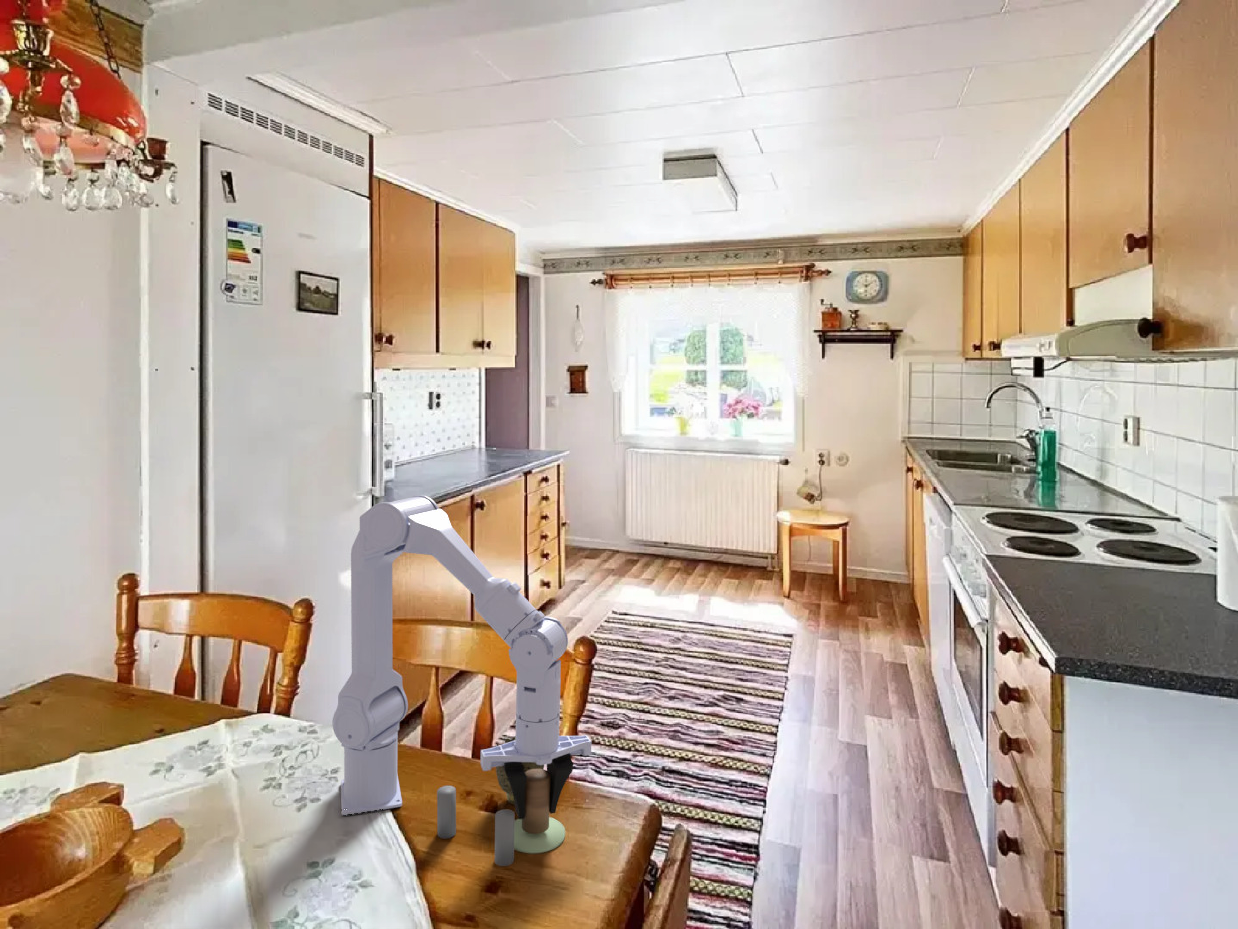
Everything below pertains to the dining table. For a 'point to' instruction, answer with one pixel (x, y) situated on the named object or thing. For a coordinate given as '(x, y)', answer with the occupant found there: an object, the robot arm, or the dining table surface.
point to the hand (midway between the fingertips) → (535, 812)
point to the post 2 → (504, 837)
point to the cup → (503, 777)
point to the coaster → (538, 837)
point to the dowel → (536, 801)
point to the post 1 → (446, 812)
